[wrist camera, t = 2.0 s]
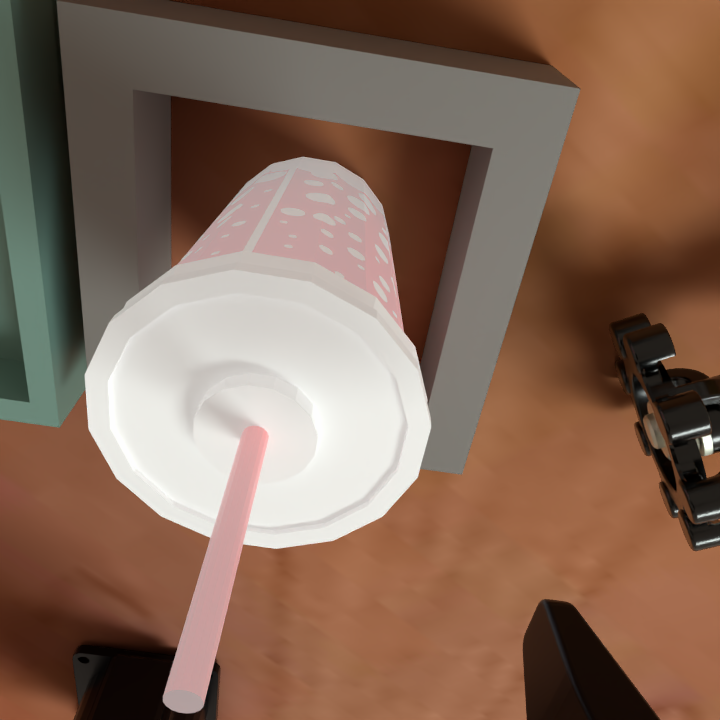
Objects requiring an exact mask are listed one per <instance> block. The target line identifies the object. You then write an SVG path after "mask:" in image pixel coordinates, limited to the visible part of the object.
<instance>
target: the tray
mask: <svg viewBox="0 0 720 720" xmlns="http://www.w3.org/2000/svg"><path fill="white" fill-rule="evenodd" d="M86 371H87V363H86V351H85V338H84V326H83V314H82V302H81V290H80V278H79V266H78V254H77V242H76V230H75V218H74V205H73V193H72V181H71V169H70V157H69V145H68V133H67V121H66V109H65V97H64V84H63V72H62V60H61V48H60V36H59V24H58V12H57V0H0V419H3V420H10V421H17V422H24V423H31V424H38V425H45V426H53V427H60V426H61V425H62V423H63V422H64V420H65V419H66V417H67V416H68V414H69V413H70V411H71V410H72V408H73V407H74V405H75V404H76V402H77V401H78V399H79V398H80V396H81V395H82V393H83V392H84V390H85V389H86V387H85V373H86Z"/></svg>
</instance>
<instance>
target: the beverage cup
mask: <svg viewBox="0 0 720 720" xmlns="http://www.w3.org/2000/svg"><path fill="white" fill-rule="evenodd" d="M85 387H86V401H87V414H88V427H89V431H90V433H91V434H92V436H93V438H94V440H95V441H96V443H97V445H98V447H99V448H100V450H101V452H102V454H103V455H104V457H105V459H106V461H107V463H108V464H109V466H110V468H111V470H112V471H113V473H114V475H115V477H116V478H117V479H118V480H119V481H120V482H121V483H123V484H124V485H125V486H126V487H127V488H128V489H130V490H131V491H132V492H133V493H134V494H136V495H137V496H138V497H139V498H140V499H141V500H143V501H144V502H145V503H146V504H147V505H148V506H150V507H151V508H152V509H153V510H154V511H156V512H157V513H158V514H159V515H160V516H161V517H164V518H166V519H168V520H171V521H173V522H175V523H178V524H180V525H182V526H185V527H187V528H189V529H191V530H194V531H196V532H198V533H201V534H203V535H205V536H208V537H210V542H209V545H208V548H207V552H206V555H205V558H204V562H203V565H202V568H201V572H200V575H199V578H198V582H197V585H196V588H195V592H194V595H193V598H192V602H191V605H190V608H189V612H188V615H187V618H186V622H185V625H184V628H183V631H182V635H181V638H180V641H179V645H178V648H177V651H176V655H175V658H174V661H173V665H172V668H171V671H170V675H169V678H168V681H167V685H166V688H165V691H164V695H163V702H164V704H165V705H166V706H167V707H168V708H170V709H171V710H173V711H176V712H179V713H195V712H197V711H200V710H201V709H202V708H203V706H204V702H205V698H206V694H207V690H208V686H209V682H210V678H211V674H212V669H213V665H214V661H215V657H216V653H217V649H218V645H219V641H220V637H221V633H222V628H223V624H224V620H225V616H226V612H227V608H228V604H229V600H230V596H231V592H232V587H233V583H234V579H235V575H236V571H237V567H238V563H239V559H240V555H241V551H242V546H243V544H246V545H253V546H260V547H267V548H275V549H277V548H285V547H292V546H299V545H306V544H313V543H320V542H327V541H334V540H336V539H338V538H340V537H342V536H344V535H346V534H348V533H350V532H352V531H354V530H356V529H358V528H360V527H362V526H364V525H366V524H368V523H370V522H372V521H375V520H377V519H379V518H381V517H383V516H384V514H385V513H386V512H387V511H388V510H389V509H390V508H391V507H392V505H393V504H394V503H395V502H396V501H397V500H398V499H399V498H400V497H401V495H402V494H403V493H404V492H405V491H406V490H407V489H408V488H409V487H410V485H411V484H412V483H413V482H414V481H415V480H416V479H417V478H418V474H419V470H420V467H421V463H422V459H423V456H424V452H425V448H426V445H427V441H428V437H429V434H430V430H431V417H430V413H429V408H428V404H427V401H428V400H427V396H426V391H425V387H424V383H423V378H422V374H421V370H420V365H419V361H418V357H417V352H416V348H415V346H414V345H413V343H412V342H411V341H410V339H409V338H408V337H407V336H406V334H405V333H404V329H403V323H402V316H401V309H400V303H399V296H398V290H397V283H396V277H395V270H394V264H393V257H392V250H391V244H390V237H389V232H388V228H387V223H386V219H385V215H384V210H383V206H382V204H381V203H380V201H379V200H378V199H377V197H376V196H375V194H374V193H373V192H372V190H371V189H370V188H369V186H368V185H367V183H366V182H365V181H364V179H362V178H360V177H359V176H357V175H356V174H354V173H352V172H351V171H349V170H347V169H346V168H344V167H343V166H341V165H339V164H338V163H336V162H332V161H326V160H320V159H314V158H308V157H299V158H295V159H291V160H286V161H282V162H278V163H274V164H271V165H269V166H268V167H267V168H266V169H264V170H263V171H262V172H260V173H259V174H258V175H256V176H255V177H254V178H252V179H251V180H250V181H248V182H247V183H246V184H245V185H244V187H243V188H242V189H241V190H240V191H239V193H238V194H237V195H236V196H235V197H234V198H233V200H232V201H231V202H230V203H229V204H228V205H227V207H226V208H225V209H224V210H223V211H222V213H221V214H220V215H219V216H218V217H217V218H216V220H215V221H214V222H213V223H212V224H211V226H210V227H209V228H208V229H207V230H206V231H205V233H204V234H203V235H202V236H201V237H200V238H199V240H198V241H197V242H196V243H195V244H194V246H193V247H192V248H191V249H190V250H189V251H188V253H187V254H186V255H185V256H184V257H183V258H182V260H181V261H180V262H179V263H178V264H177V265H176V266H174V267H173V268H171V269H170V270H169V271H167V272H166V273H165V274H163V275H162V276H161V277H159V278H158V279H157V280H155V281H154V282H153V283H151V284H150V285H148V286H147V287H146V288H144V289H143V290H142V291H140V292H139V293H138V294H136V295H135V296H134V297H132V298H131V299H130V300H128V301H127V302H126V304H125V306H124V308H123V309H122V310H121V311H119V312H118V313H117V314H115V315H114V317H113V318H112V319H111V321H110V322H109V324H108V326H107V328H106V330H105V332H104V334H103V336H102V339H101V341H100V343H99V345H98V347H97V349H96V351H95V354H94V356H93V358H92V360H91V362H90V364H89V366H88V368H87V371H86V373H85Z"/></svg>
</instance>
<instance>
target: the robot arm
mask: <svg viewBox="0 0 720 720" xmlns="http://www.w3.org/2000/svg"><path fill="white" fill-rule="evenodd" d="M174 658H175V656H168V655H160V654H152V653H144V652H136V651H128V650H120V649H112V648H104V647H96V646H88V645H81V646H78V647H77V648H76V651H75V653H74V655H73V666H74V674H75V681H76V689H77V696H78V704H79V707H78V710H77V712H76V715H75V717H74V720H217V715H218V699H219V683H220V666H219V665H218V664H217V663H215V662H214V665H213V669H212V674H211V678H210V682H209V686H208V690H207V694H206V698H205V702H204V706H203V708H202V709H201V710H200V711H197V712H195V713H179V712H176V711H173V710H171V709H170V708H168V707H167V706H166V705H165V704H164V702H163V695H164V691H165V688H166V685H167V681H168V678H169V675H170V671H171V668H172V665H173V661H174ZM523 664H524V680H525V697H526V714H527V720H660V719H659V717H658V716H657V715H656V713H655V712H654V711H653V709H652V708H651V707H650V705H649V704H648V703H647V701H646V700H645V699H644V697H643V696H642V695H641V694H640V692H639V691H638V690H637V688H636V687H635V686H634V684H633V683H632V682H631V680H630V679H629V678H628V676H627V675H626V674H625V672H624V671H623V670H622V668H621V667H620V666H619V665H618V663H617V662H616V661H615V659H614V658H613V657H612V655H611V654H610V653H609V651H608V650H607V649H606V647H605V646H604V645H603V643H602V642H601V641H600V639H599V638H598V637H597V636H596V634H595V633H594V632H593V630H592V629H591V628H590V626H589V625H588V624H587V622H586V621H585V620H584V618H583V617H582V616H581V614H580V613H579V612H578V610H577V609H576V608H575V607H574V606H573V605H572V604H570V603H568V602H565V601H557V600H550V599H544V600H542V601H541V602H540V603H539V604H538V606H537V608H536V610H535V613H534V615H533V617H532V619H531V621H530V624H529V626H528V628H527V630H526V633H525V636H524V640H523Z"/></svg>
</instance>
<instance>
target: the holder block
mask: <svg viewBox="0 0 720 720" xmlns="http://www.w3.org/2000/svg"><path fill="white" fill-rule="evenodd" d="M57 12H58V24H59V36H60V48H61V60H62V72H63V84H64V97H65V109H66V121H67V133H68V145H69V157H70V169H71V181H72V193H73V205H74V218H75V230H76V242H77V254H78V266H79V278H80V290H81V302H82V314H83V326H84V338H85V351H86V363H87V368H88V366H89V364H90V362H91V360H92V358H93V356H94V354H95V351H96V349H97V347H98V345H99V343H100V341H101V339H102V336H103V334H104V332H105V330H106V328H107V326H108V324H109V322H110V321H111V319H112V318H113V317H114V315H115V314H117V313H118V312H119V311H121V310H122V309H123V308H124V306H125V304H126V302H127V301H128V300H130V299H131V298H132V297H134V296H135V295H136V294H138V293H139V292H140V291H142V290H143V289H144V288H146V287H147V286H148V285H150V284H151V283H153V282H154V281H155V280H157V279H158V278H159V277H161V276H162V275H163V274H165V273H166V272H167V271H169V270H170V269H171V96H176V97H183V98H189V99H195V100H201V101H207V102H213V103H219V104H225V105H231V106H238V107H244V108H250V109H256V110H262V111H268V112H274V113H280V114H287V115H293V116H299V117H305V118H311V119H317V120H323V121H329V122H335V123H342V124H348V125H354V126H360V127H366V128H372V129H378V130H384V131H390V132H397V133H403V134H409V135H415V136H421V137H427V138H433V139H439V140H446V141H452V142H458V143H464V144H470V145H472V147H471V151H470V156H469V160H468V164H467V168H466V173H465V177H464V181H463V185H462V190H461V194H460V198H459V202H458V207H457V211H456V215H455V219H454V224H453V228H452V232H451V236H450V241H449V245H448V249H447V253H446V258H445V262H444V266H443V270H442V275H441V279H440V283H439V287H438V292H437V296H436V300H435V304H434V309H433V313H432V317H431V321H430V326H429V330H428V334H427V338H426V343H425V347H424V351H423V355H422V360H421V364H420V370H421V374H422V378H423V383H424V387H425V391H426V396H427V400H428V401H427V404H428V408H429V413H430V417H431V430H430V434H429V437H428V441H427V445H426V448H425V452H424V456H423V459H422V463H421V467H420V469H426V470H433V471H440V472H447V473H455V474H462V473H463V469H464V466H465V463H466V460H467V456H468V453H469V450H470V447H471V443H472V440H473V437H474V434H475V430H476V427H477V424H478V421H479V417H480V414H481V411H482V408H483V404H484V401H485V398H486V395H487V391H488V388H489V385H490V382H491V378H492V375H493V372H494V369H495V365H496V362H497V359H498V356H499V352H500V349H501V346H502V342H503V339H504V336H505V333H506V329H507V326H508V323H509V320H510V316H511V313H512V310H513V307H514V303H515V300H516V297H517V294H518V290H519V287H520V284H521V281H522V277H523V274H524V271H525V268H526V264H527V261H528V258H529V255H530V251H531V248H532V245H533V242H534V238H535V235H536V232H537V229H538V225H539V222H540V219H541V215H542V212H543V209H544V206H545V202H546V199H547V196H548V193H549V189H550V186H551V183H552V180H553V176H554V173H555V170H556V167H557V163H558V160H559V157H560V154H561V150H562V147H563V144H564V141H565V137H566V134H567V131H568V128H569V124H570V121H571V118H572V115H573V111H574V108H575V105H576V102H577V98H578V95H579V92H580V88H579V87H578V86H576V85H575V84H574V83H573V82H571V81H570V80H569V79H568V78H567V77H565V76H564V75H563V74H562V73H560V72H559V71H558V70H557V69H555V68H554V67H553V66H551V65H545V64H539V63H534V62H528V61H522V60H516V59H510V58H504V57H498V56H492V55H486V54H481V53H475V52H469V51H463V50H457V49H451V48H445V47H439V46H433V45H428V44H422V43H416V42H410V41H404V40H398V39H392V38H386V37H381V36H375V35H369V34H363V33H357V32H351V31H345V30H339V29H333V28H328V27H322V26H316V25H310V24H304V23H298V22H292V21H286V20H281V19H275V18H269V17H263V16H257V15H251V14H245V13H239V12H233V11H228V10H222V9H216V8H210V7H204V6H198V5H192V4H186V3H180V2H175V1H169V0H57Z"/></svg>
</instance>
